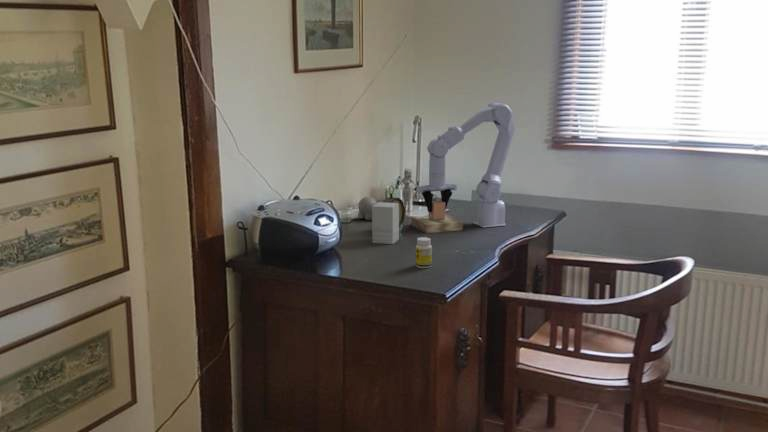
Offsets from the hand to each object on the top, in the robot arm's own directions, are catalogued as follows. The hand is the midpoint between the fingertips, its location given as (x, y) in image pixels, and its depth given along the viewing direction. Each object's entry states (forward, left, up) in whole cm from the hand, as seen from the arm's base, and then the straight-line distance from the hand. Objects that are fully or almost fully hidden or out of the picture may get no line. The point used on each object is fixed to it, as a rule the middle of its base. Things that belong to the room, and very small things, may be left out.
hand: (436, 211), depth 274 cm
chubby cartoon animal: (+17, -20, -6) cm, 27 cm away
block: (0, 0, -3) cm, 3 cm away
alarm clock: (+17, -1, -6) cm, 18 cm away
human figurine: (+2, -23, -6) cm, 24 cm away
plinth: (0, 0, -6) cm, 6 cm away
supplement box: (+24, +12, -6) cm, 28 cm away
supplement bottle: (+24, +44, -6) cm, 51 cm away
